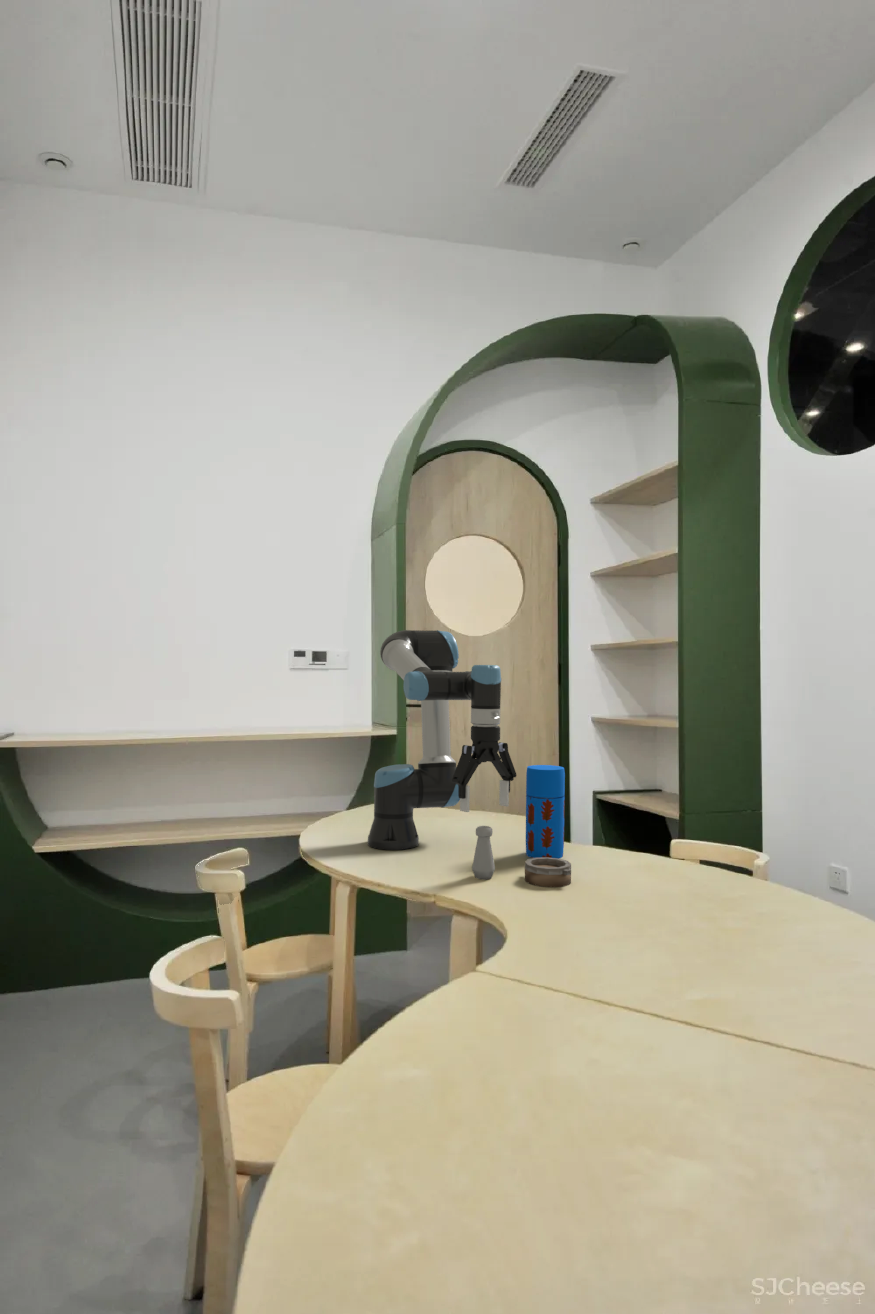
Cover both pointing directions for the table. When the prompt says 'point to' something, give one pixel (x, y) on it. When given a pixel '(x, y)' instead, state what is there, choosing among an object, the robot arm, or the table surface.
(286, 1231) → the table surface
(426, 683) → the robot arm
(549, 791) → the thermos
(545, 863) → the brown bowl with handles
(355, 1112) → the table surface
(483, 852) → the salt shaker
